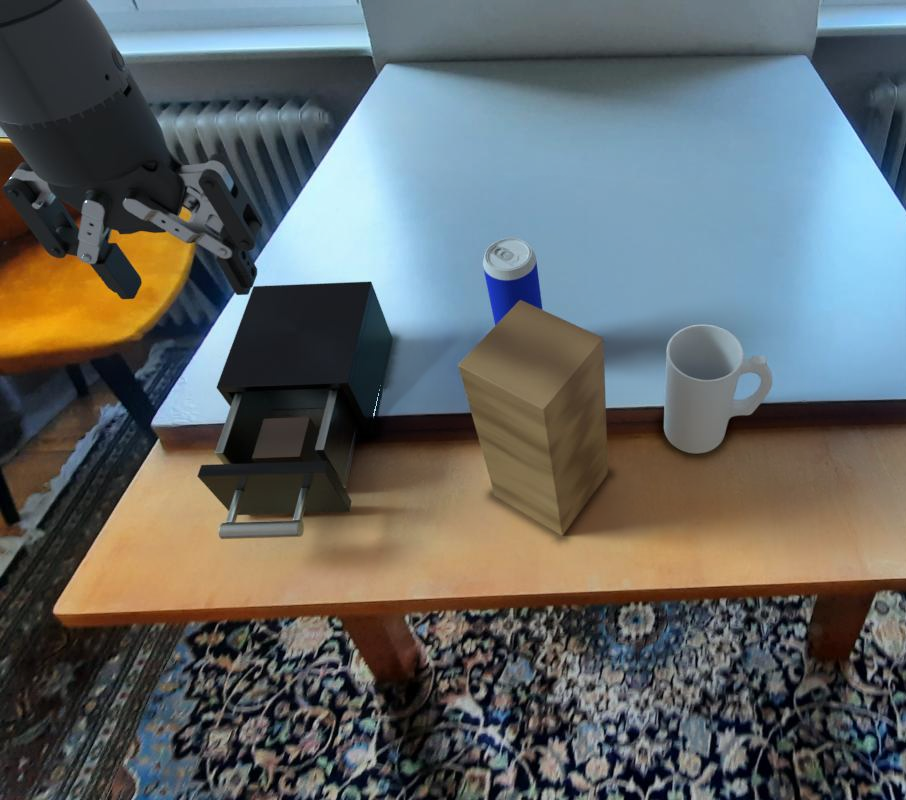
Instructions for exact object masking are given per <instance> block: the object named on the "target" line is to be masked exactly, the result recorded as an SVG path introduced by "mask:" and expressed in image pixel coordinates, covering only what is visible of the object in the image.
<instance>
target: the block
mask: <svg viewBox="0 0 906 800" xmlns="http://www.w3.org/2000/svg"><path fill="white" fill-rule="evenodd" d="M318 436H319V431H318V430H317V428H316V426H315V425H314V423H313V421H312V420H311V418H310V417H294V418H268V419H264V420H263V423H262V426H261V430H260V433H259V436H258V439H257V443H256V446H255V449H254V453H253V456H252V459H253V460H254V462H255V463H276V462H307V461H321V459H320V457H319V455H318V454H317V452H316V451H315V448H316V444H317V440H318Z"/></svg>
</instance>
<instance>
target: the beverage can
mask: <svg viewBox="0 0 906 800" xmlns="http://www.w3.org/2000/svg"><path fill="white" fill-rule="evenodd" d="M482 268H483V273H484V278H485V283H486V288H487V293H488V297H489V302H490V308H491V312H492V317H493V321H494V327H495V326H496V324H497V323H498V322H499V321H500V320H501V319H502V318H503V317H504V316H505V315H506V314H507V313H508V312H509V311H510V310H511V309H512V308H513V307H514V306H515V305H516V304H517V303H518V301H519V300H522V301H524V302H526V303H528V304H531V305H533V306H535V307H537V308H539V309H541V310H544V309H543V301H542V293H541V286H540V279H539V277H540V276H539V269H538V261H537V256H536V253H535V252H534V250H533V248H532V246H531V245H530V244H529V243H528V242H527V241H526V240H524V239H521V238H516V237H506V238H501V239H498V240H496V241H494V242H493V243H491V244H490V245H489V246H488V247H487V248H486V250H485V253H484V256H483V260H482Z"/></svg>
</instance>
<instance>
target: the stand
mask: <svg viewBox="0 0 906 800" xmlns="http://www.w3.org/2000/svg"><path fill="white" fill-rule="evenodd" d="M604 339H605V337H602V336H600V335H598V334H596V333H594V332H592V331H590V330H588V329H586V328H584V327H583V328H582V327H581V326H578V325H576V324H574V323H572V322H570V321H567V320H565V319H563V318H561V317H559V316H557V315H555V314H552V313H550V312H548V311H546V310H545V309H543V310H541V309H539V308H537V307H535V306H533V305H531V304H528V303H526V302H524V301H522V300H519V301H518V303H517V304H516V305H515V306H514V307H513V308H512V309H511V310H510V311H509V312H508V313H507V314H506V315H505V316H504V317H503V318H502V319H501V320H500V321H499V322H498V323H497V324H496V326H495V325H494V326H493V327H492V328H491V330H489V332H487V334H486V335H485V336H484V337H483V338H482V339H480V341H479V342H478V343H477V344H476V345H475V347H473V348H472V350H470V352H468V354H467V355H465V357H464V358H463V359H462V360H461V361H460V362H459V363H457V367H458V371H459V375H460V378H461V381H462V385H463V388H464V391H465V394H466V398H467V403H468V406H469V410H470V412H471V416H472V421H473V424H474V428H475V431H476V434H477V437H478V442H479V445H480V448H481V451H482V456H483V459H484V463H485V466H486V470H487V473H488V477H489V480H490V483H491V487H492V491H493V494H494V497H496V498H498V499H499V500H501V501H502V502H504V503H506V504H507V505H509V506H511V507H513V508H514V509H516V510H518V511H520V512H521V513H523V514H525V515H526V516H528V517H529V518H531V519H533V520H535V521H536V522H538V523H540V524H541V525H543V526H545V527H546V528H548V529H550V530H552V531H554V532H555V533H557V534H558V535H559V536H564V534H565V533H566V531H568V529H569V528H570V527H571V525H572V523H573V522H574V521H575V519H576V518H577V516H578V515H579V514H580V512H581V511H582V510H583V508H584V507H585V505H586V504H587V503H588V501H589V500H590V499H591V497H592V496H593V495H594V493H595V492H596V491H597V490H598V488H599V486H600V485H601V484H602V483H603V481H604V480H605V479H606V477H607V475H608V474H609V466H608V463H609V462H608V435H607V432H608V431H607V408H606V407H607V404H606V403H607V401H606V375H605V374H606V373H605V372H606V371H605V370H606V369H605V343H604V342H605V340H604Z"/></svg>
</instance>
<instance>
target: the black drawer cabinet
mask: <svg viewBox="0 0 906 800" xmlns="http://www.w3.org/2000/svg"><path fill="white" fill-rule="evenodd" d="M393 340H394V338H393V335H392V333H391V331H390V328H389V325H388V322H387V319H386V316H385V313H384V312H383V309H382V307H381V303H380V301H379V298H378V296H377V293H376V291H375V288H374V284H373V283H372V281H350V282H328V283H325V282H324V283H323V282H322V283H304V284H302V283H301V284H300V283H299V284H275V285H253V287H252V288H251V291H250V294H249V297H248V300H247V303H246V306H245V308H244V311H243V314H242V317H241V319H240V322H239V325H238V327H237V330H236V333H235V336H234V339H233V341H232V343H231V347H230V349H229V352H228V355H227V358H226V360H225V363H224V365H223V369H222V371H221V373H220V376H219V380H218V382H217V385H216V390H218V392H219V393H220V395H221V396H222V397H223V399H224V400H225V401H226V403H227V405H229V408H230V407H231V404H232V401H233V399H234V396H235V393H236V392H249V391H277V390H304V389H332V388H342V389H343V391H344V393H345V395H346V397H347V399H348V401H349V403H350V405H351V407H352V409H353V411H354V413H355V415H356V417H357V419H358V421H359V423H360V425H359V429H358V434H357V438H373V437H375V434H376V433H375V432H376V429H377V424H378V418H379V412H380V407H381V404H382V403H381V402H382V397H383V392H384V387H385V381H386V377H387V371H388V366H389V361H390V357H391V356H390V355H391V351H392V347H393V346H392V345H393ZM380 385H381V386H380ZM379 389H380V391H379ZM378 393H379V396H378ZM377 397H378V401H377ZM376 401H377V406H376ZM375 406H376V411H375V416H374V419H373V413H374V409H375Z"/></svg>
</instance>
